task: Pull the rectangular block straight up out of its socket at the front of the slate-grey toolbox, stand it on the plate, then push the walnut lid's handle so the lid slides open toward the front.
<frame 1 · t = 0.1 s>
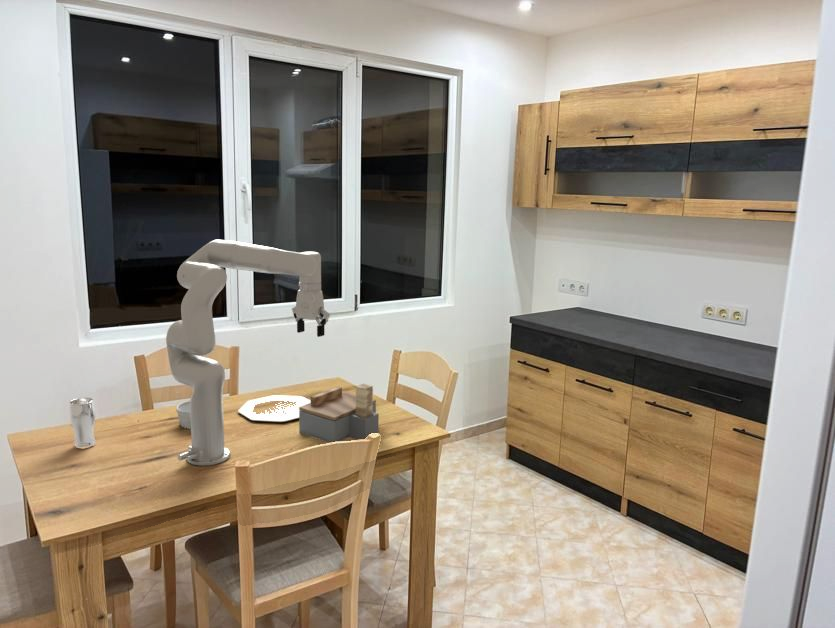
hand: (310, 333, 218), 31 cm above the table, tool pointing down, fingers open, 9 cm apart
plate: (278, 411, 229), on the table
lid: (338, 400, 211), point 10 cm above the table, slide at 0.0 cm
rectangular block: (363, 425, 206), point 4 cm above the table, touching toolbox
beer glass: (85, 446, 194), on the table
ramekin: (197, 424, 214), on the table
toolbox: (338, 428, 213), on the table
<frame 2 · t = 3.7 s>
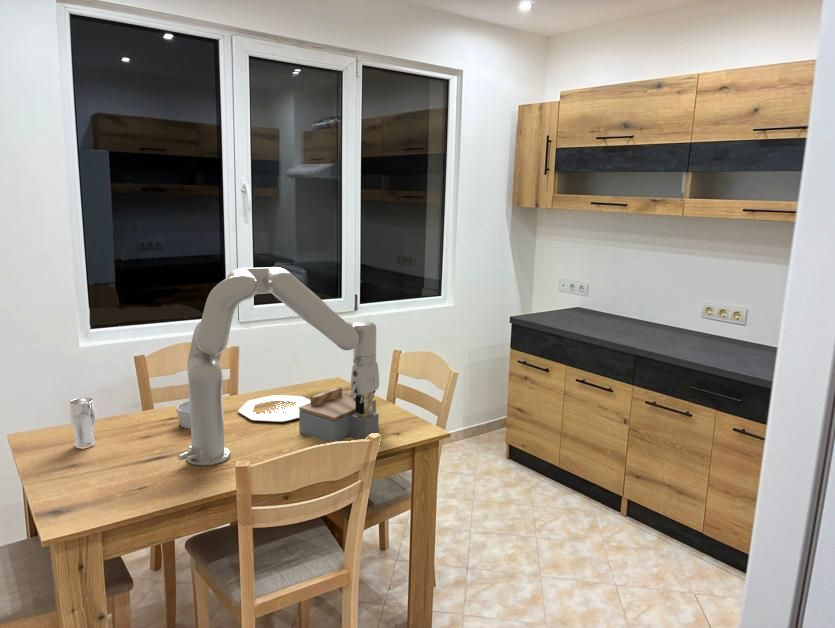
hand: (364, 410, 205), 9 cm above the table, tool pointing down, fingers closed on rectangular block, 4 cm apart
rectangular block: (363, 425, 206), point 4 cm above the table, touching gripper, toolbox
everything else where it was.
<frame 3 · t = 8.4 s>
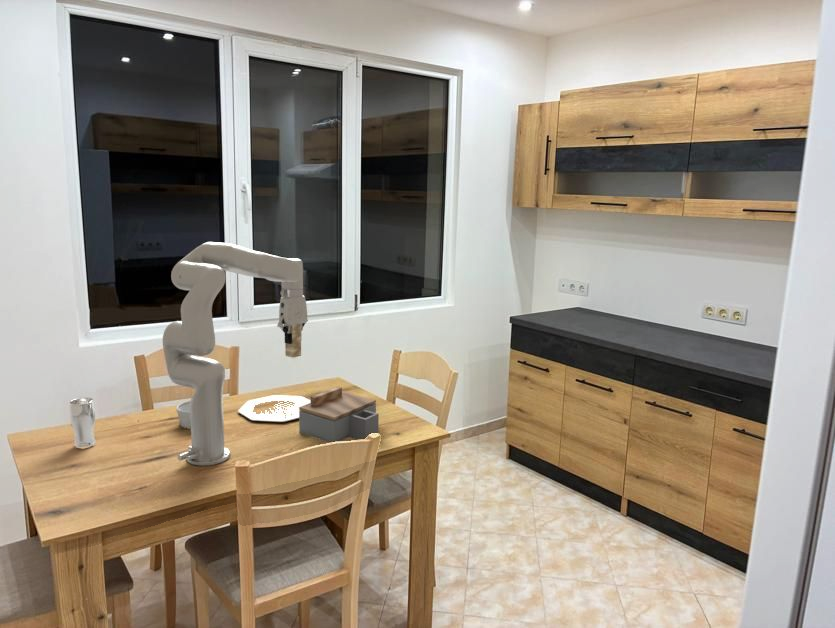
hand: (293, 341, 222), 27 cm above the table, tool pointing down, fingers closed on rectangular block, 4 cm apart
rectangular block: (293, 355, 223), point 22 cm above the table, touching gripper
everything else where it was.
when the fingers open (9 cm above the table, at t = 12.9 s): rectangular block drops 3 cm, resting on plate.
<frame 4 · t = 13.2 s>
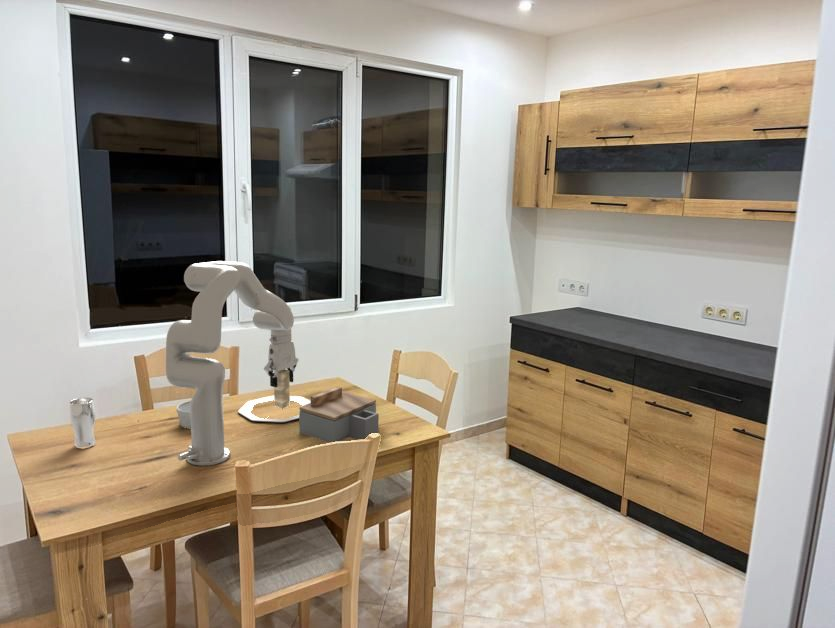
hand: (281, 383, 229), 10 cm above the table, tool pointing down, fingers open, 7 cm apart
plate: (278, 411, 229), on the table, touching rectangular block
rectangular block: (282, 406, 231), point 1 cm above the table, touching plate
everything else where it was.
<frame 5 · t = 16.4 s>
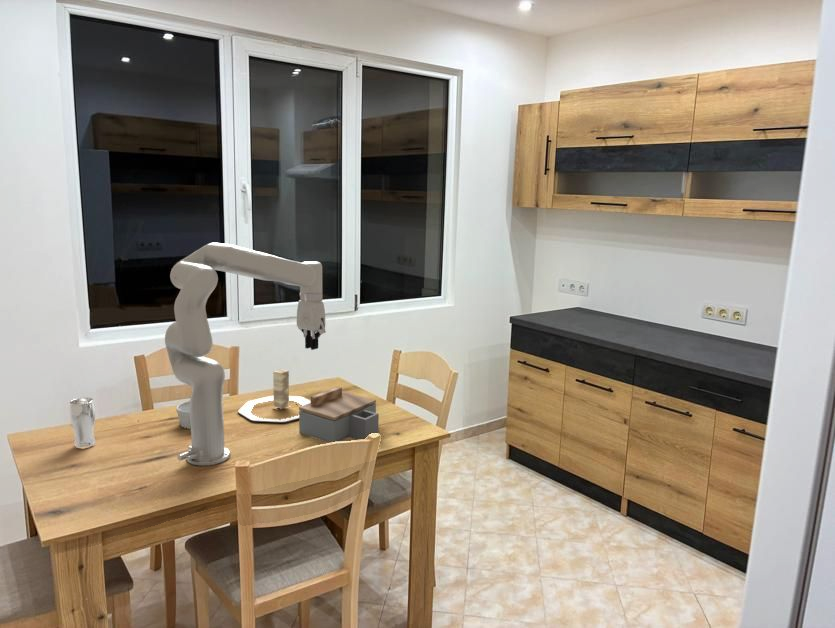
hand: (311, 348, 214), 27 cm above the table, tool pointing down, fingers closed
nothing on the table moved.
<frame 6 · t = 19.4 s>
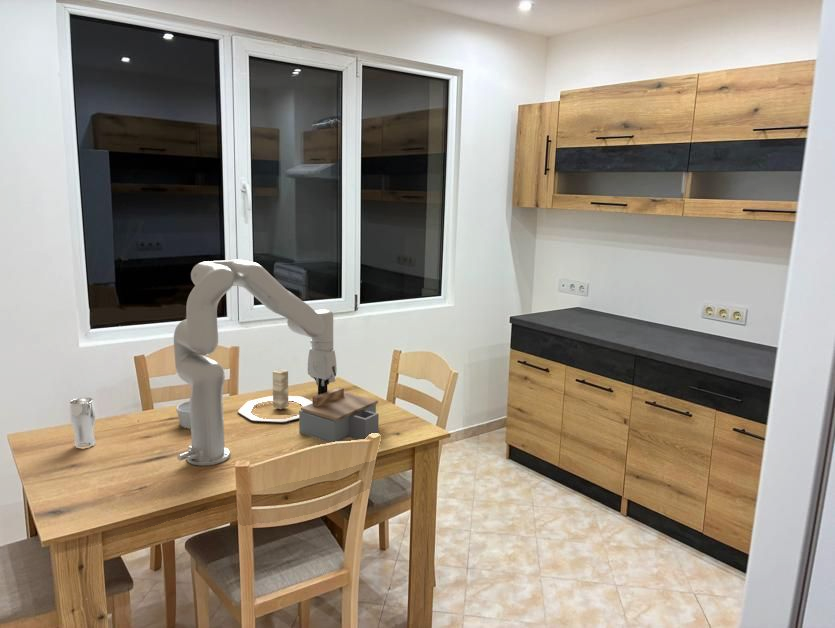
hand: (322, 395, 215), 11 cm above the table, tool pointing down, fingers closed
lid: (340, 401, 210), point 10 cm above the table, slide at 0.9 cm, touching gripper
everything else where it was.
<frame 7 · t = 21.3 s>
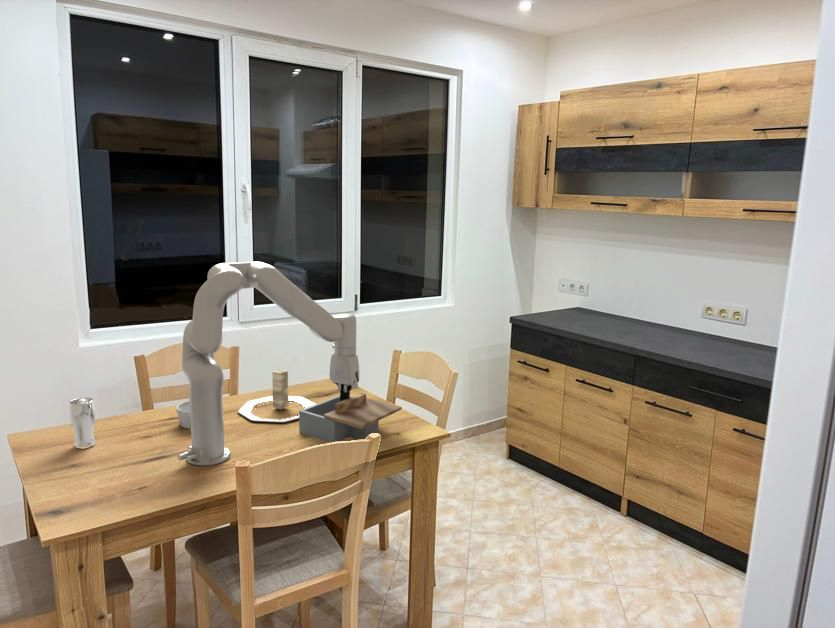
hand: (344, 401, 209), 11 cm above the table, tool pointing down, fingers closed
lid: (363, 407, 205), point 10 cm above the table, slide at 11.2 cm, touching gripper
everything else where it was.
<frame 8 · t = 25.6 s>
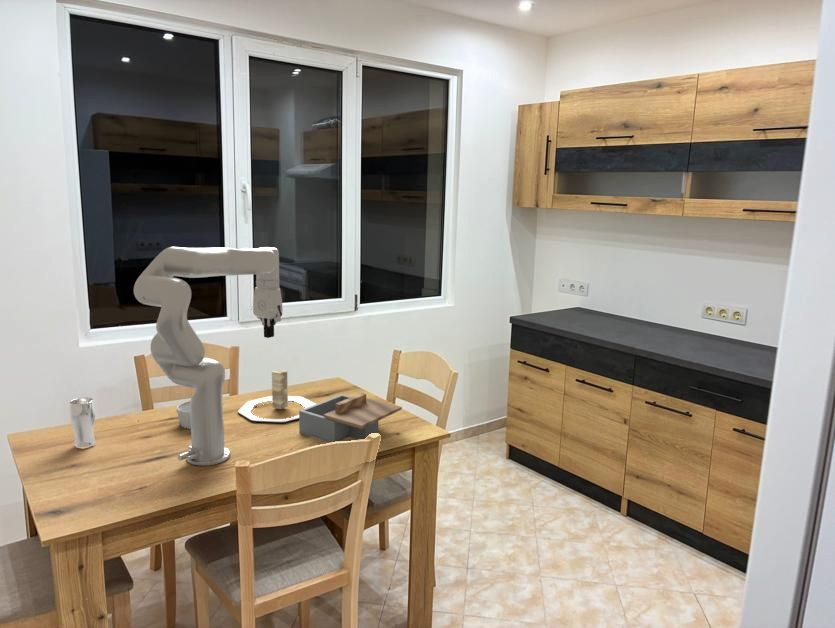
hand: (269, 336, 208), 32 cm above the table, tool pointing down, fingers closed
lid: (363, 407, 205), point 10 cm above the table, slide at 11.3 cm
everything else where it was.
at the end: rectangular block inside the target area on the plate (1.0 cm from its centre), point 1.7 cm above the plate's base; lid slide at 11.3 cm; the gripper is holding nothing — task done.
